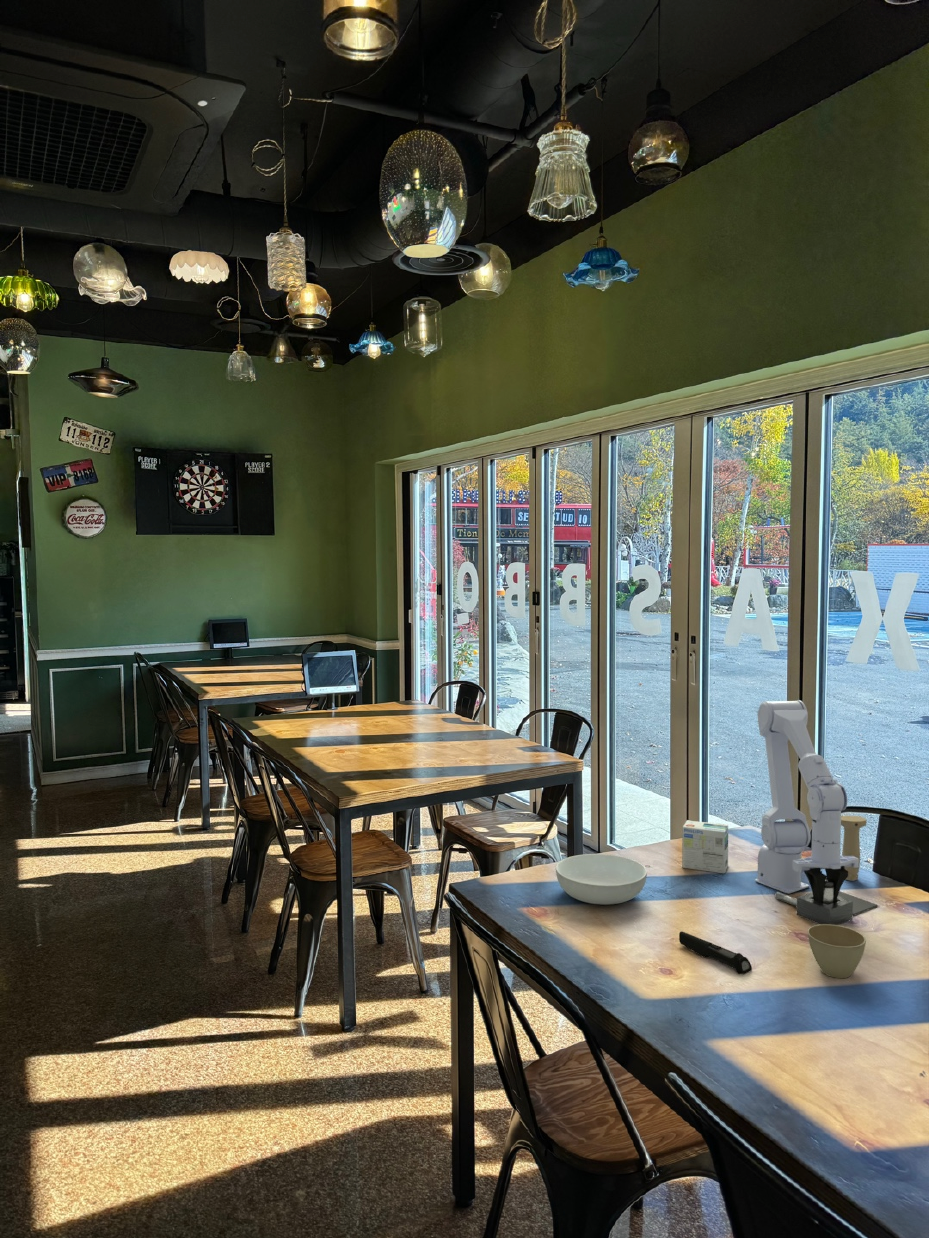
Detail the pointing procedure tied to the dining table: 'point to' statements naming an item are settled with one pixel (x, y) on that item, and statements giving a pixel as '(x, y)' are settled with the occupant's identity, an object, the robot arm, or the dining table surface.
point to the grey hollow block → (820, 908)
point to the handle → (852, 841)
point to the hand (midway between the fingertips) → (824, 901)
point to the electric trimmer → (716, 953)
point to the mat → (858, 903)
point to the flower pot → (836, 949)
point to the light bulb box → (705, 846)
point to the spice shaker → (828, 891)
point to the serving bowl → (601, 878)
